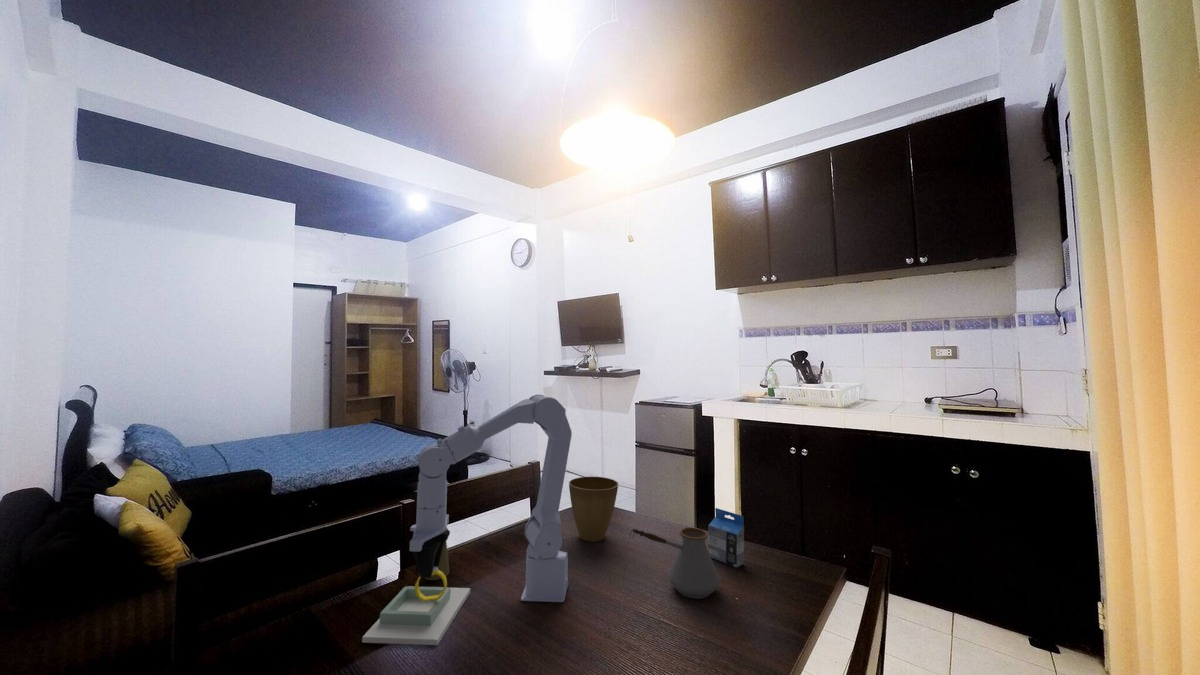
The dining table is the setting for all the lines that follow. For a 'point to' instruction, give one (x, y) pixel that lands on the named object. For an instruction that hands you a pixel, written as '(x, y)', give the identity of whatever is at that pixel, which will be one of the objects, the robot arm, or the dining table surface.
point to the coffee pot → (690, 563)
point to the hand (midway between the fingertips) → (429, 572)
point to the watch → (434, 597)
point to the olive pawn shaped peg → (442, 564)
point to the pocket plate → (417, 617)
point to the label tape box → (726, 538)
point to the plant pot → (592, 505)
